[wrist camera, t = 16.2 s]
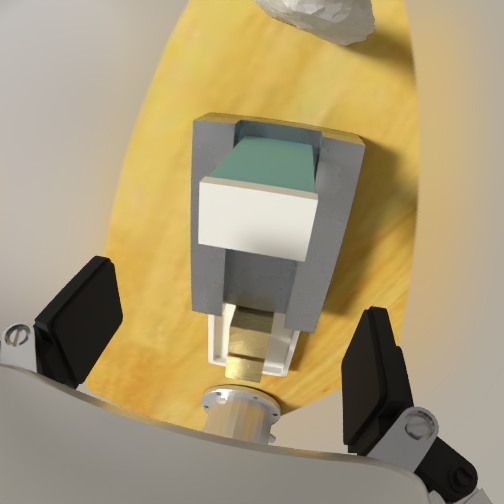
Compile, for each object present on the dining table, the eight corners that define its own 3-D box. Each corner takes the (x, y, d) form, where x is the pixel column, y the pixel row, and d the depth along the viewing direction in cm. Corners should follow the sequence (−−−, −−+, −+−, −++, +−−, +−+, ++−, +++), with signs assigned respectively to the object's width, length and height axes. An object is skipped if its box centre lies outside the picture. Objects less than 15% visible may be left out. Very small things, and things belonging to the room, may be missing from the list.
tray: (286, 368, 39) (285, 377, 38) (211, 353, 40) (208, 362, 39) (304, 307, 33) (304, 317, 32) (212, 291, 34) (208, 300, 33)
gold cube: (270, 331, 35) (265, 358, 32) (235, 325, 36) (227, 351, 32) (275, 306, 33) (270, 333, 30) (237, 299, 33) (229, 326, 30)
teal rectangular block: (306, 183, 24) (304, 261, 15) (240, 173, 24) (198, 243, 16) (313, 144, 22) (318, 200, 13) (244, 133, 23) (199, 182, 14)
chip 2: (264, 357, 38) (259, 382, 34) (232, 351, 38) (225, 376, 35) (269, 335, 36) (264, 362, 32) (234, 329, 36) (227, 355, 33)
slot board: (314, 305, 33) (313, 333, 30) (203, 285, 34) (192, 310, 31) (357, 134, 23) (365, 145, 20) (209, 112, 24) (193, 120, 21)
